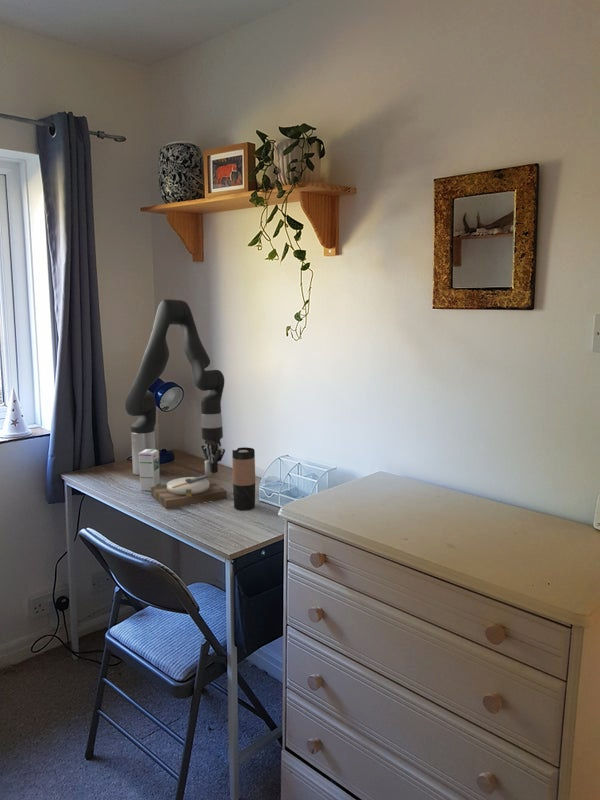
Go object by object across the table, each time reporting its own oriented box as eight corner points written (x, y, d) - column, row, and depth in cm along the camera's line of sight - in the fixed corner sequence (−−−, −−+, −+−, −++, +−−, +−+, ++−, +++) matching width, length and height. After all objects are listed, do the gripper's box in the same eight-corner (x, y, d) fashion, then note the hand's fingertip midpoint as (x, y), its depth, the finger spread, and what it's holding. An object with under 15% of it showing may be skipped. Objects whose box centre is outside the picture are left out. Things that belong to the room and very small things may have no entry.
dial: (196, 477, 242) (196, 457, 241) (225, 484, 233) (224, 463, 232) (158, 489, 227) (157, 467, 226) (187, 497, 218) (186, 474, 217)
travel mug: (256, 510, 215) (255, 452, 212) (233, 511, 214) (232, 453, 211) (254, 502, 222) (253, 446, 219) (232, 504, 221) (231, 447, 218)
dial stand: (151, 494, 232) (150, 480, 231) (208, 486, 242) (208, 472, 241) (166, 509, 216) (165, 493, 215) (226, 499, 227) (226, 484, 226)
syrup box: (154, 491, 236) (153, 452, 234) (139, 490, 238) (138, 452, 235) (161, 486, 242) (159, 449, 240) (146, 485, 243) (144, 448, 241)
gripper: (230, 426, 228) (232, 473, 230) (211, 422, 238) (213, 467, 240) (212, 429, 223) (215, 477, 226) (193, 424, 233) (195, 471, 236)
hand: (214, 472), depth 233 cm, fingers closed
